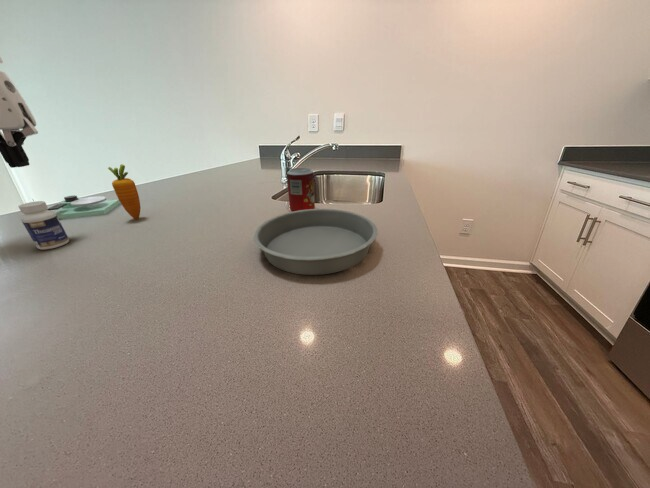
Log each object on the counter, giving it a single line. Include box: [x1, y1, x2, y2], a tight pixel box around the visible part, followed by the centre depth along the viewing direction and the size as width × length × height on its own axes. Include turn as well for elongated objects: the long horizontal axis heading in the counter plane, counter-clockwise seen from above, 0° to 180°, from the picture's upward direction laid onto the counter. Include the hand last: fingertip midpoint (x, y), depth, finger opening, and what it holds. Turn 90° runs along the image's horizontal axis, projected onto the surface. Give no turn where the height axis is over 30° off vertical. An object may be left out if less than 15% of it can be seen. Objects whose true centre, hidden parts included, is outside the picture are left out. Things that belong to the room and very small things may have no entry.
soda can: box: [286, 167, 316, 212], centre depth 71 cm, size 7×7×12 cm
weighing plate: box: [71, 195, 107, 206], centre depth 79 cm, size 8×8×1 cm
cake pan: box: [252, 208, 379, 276], centre depth 53 cm, size 25×25×4 cm
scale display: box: [47, 203, 67, 211], centre depth 75 cm, size 2×5×1 cm, turn 17°
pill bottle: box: [18, 200, 70, 251], centre depth 56 cm, size 5×5×10 cm
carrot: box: [107, 164, 141, 221], centre depth 69 cm, size 5×5×15 cm
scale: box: [54, 197, 121, 220], centre depth 80 cm, size 14×12×3 cm
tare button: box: [63, 195, 79, 202], centre depth 81 cm, size 3×3×2 cm
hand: (20, 166), depth 54 cm, fingers closed
